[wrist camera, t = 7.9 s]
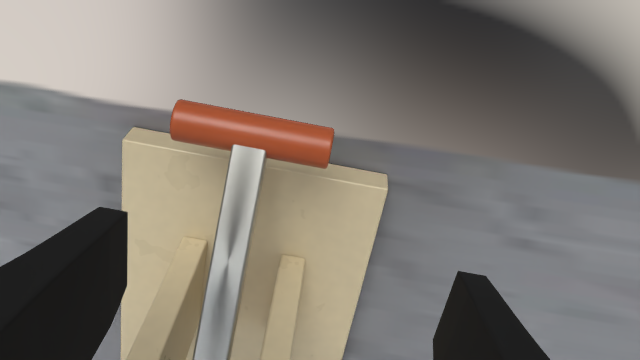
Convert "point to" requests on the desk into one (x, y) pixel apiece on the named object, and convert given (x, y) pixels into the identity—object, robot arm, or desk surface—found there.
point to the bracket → (264, 260)
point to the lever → (240, 200)
